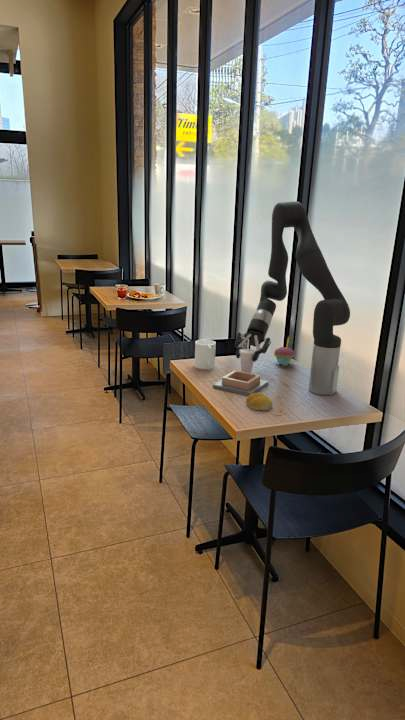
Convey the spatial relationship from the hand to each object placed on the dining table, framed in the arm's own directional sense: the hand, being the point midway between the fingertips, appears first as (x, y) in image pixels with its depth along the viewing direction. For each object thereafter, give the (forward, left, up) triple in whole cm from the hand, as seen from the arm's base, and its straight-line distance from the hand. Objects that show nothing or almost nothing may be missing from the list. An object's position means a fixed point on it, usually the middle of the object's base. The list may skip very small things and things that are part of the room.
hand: (245, 358), depth 185 cm
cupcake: (-7, -24, -7) cm, 26 cm away
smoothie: (0, -2, -7) cm, 7 cm away
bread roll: (-17, +24, -7) cm, 30 cm away
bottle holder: (-4, +11, -7) cm, 14 cm away
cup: (+17, 0, -7) cm, 18 cm away
